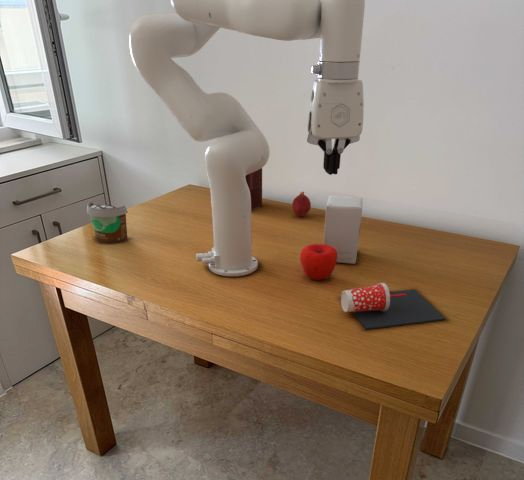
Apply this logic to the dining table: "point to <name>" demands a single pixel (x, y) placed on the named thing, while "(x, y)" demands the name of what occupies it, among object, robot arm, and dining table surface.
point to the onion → (301, 204)
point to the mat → (400, 312)
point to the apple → (318, 260)
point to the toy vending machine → (255, 188)
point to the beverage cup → (367, 298)
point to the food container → (108, 222)
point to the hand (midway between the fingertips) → (331, 172)
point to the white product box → (343, 226)
